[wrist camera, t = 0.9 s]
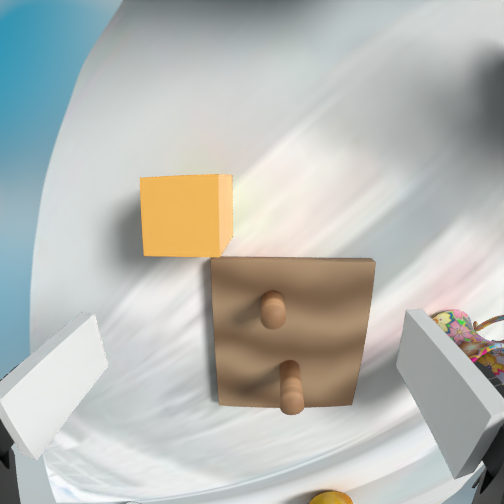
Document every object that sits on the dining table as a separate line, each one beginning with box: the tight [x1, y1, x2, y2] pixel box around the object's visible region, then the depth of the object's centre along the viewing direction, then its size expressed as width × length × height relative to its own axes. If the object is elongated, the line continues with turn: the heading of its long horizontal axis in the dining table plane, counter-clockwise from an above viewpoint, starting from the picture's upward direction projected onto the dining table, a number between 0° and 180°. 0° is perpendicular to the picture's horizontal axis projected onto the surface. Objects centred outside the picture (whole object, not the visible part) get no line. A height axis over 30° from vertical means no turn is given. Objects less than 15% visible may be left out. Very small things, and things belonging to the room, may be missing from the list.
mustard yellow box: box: [140, 174, 233, 257], centre depth 26 cm, size 6×6×8 cm
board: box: [211, 256, 376, 415], centre depth 29 cm, size 18×16×8 cm
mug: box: [433, 309, 504, 385], centre depth 27 cm, size 12×9×11 cm
